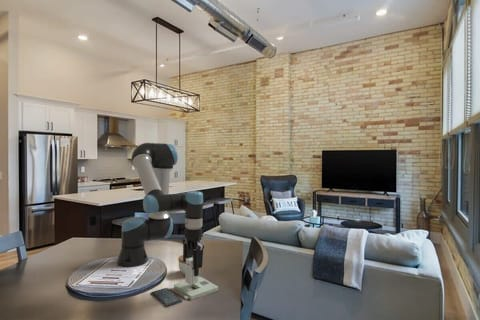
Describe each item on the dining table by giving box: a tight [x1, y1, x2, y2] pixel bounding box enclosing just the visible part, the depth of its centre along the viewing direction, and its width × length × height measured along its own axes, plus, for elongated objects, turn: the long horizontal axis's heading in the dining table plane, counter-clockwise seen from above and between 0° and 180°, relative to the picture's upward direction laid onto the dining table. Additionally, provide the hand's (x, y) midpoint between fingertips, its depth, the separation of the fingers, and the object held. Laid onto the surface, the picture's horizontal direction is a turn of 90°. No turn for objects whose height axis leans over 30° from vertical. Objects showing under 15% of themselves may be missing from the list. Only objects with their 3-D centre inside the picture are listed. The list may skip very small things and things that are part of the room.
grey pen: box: [166, 286, 190, 300], centre depth 124 cm, size 13×1×1 cm, turn 50°
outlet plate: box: [173, 276, 219, 301], centre depth 129 cm, size 14×14×2 cm
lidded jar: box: [177, 254, 193, 276], centre depth 146 cm, size 11×11×9 cm
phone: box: [150, 287, 183, 308], centre depth 120 cm, size 14×7×1 cm, turn 41°
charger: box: [184, 257, 193, 285], centre depth 127 cm, size 4×4×10 cm
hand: (191, 281), depth 127 cm, fingers closed on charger, 4 cm apart
